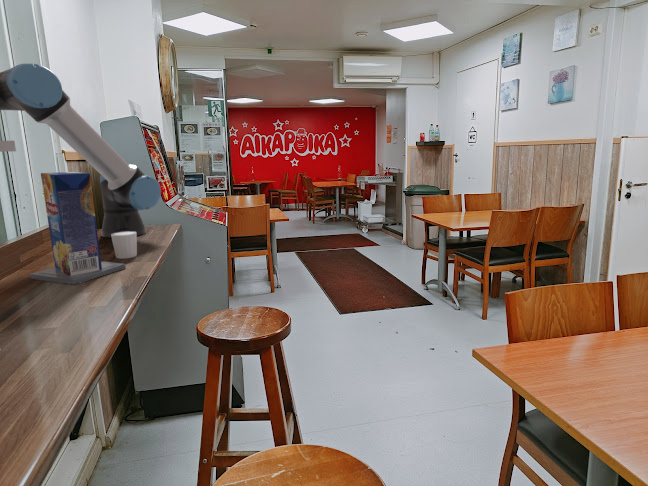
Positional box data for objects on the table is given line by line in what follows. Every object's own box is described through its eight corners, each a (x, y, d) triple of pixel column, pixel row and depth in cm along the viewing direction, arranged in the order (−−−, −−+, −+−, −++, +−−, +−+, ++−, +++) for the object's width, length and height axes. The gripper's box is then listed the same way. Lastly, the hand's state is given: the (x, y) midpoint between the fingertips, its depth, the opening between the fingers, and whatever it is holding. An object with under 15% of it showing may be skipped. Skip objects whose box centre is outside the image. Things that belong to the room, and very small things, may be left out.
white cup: (121, 260, 121) (118, 236, 119) (109, 256, 125) (106, 233, 123) (143, 255, 126) (141, 232, 125) (131, 252, 130) (129, 230, 129)
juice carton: (102, 269, 106) (89, 173, 101) (68, 276, 101) (54, 174, 96) (86, 261, 115) (74, 171, 109) (55, 267, 109) (40, 173, 104)
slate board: (84, 263, 118) (83, 259, 117) (125, 268, 112) (125, 263, 112) (30, 278, 104) (30, 273, 104) (74, 284, 99) (73, 279, 98)
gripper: (-72, 162, 109) (24, 160, 115) (-140, 164, 86) (-15, 162, 92) (-79, 131, 107) (19, 132, 114) (-149, 126, 84) (-21, 126, 91)
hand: (4, 145), depth 103 cm, fingers open, 13 cm apart
